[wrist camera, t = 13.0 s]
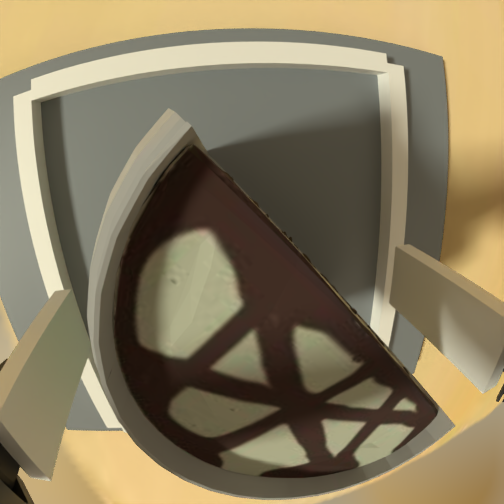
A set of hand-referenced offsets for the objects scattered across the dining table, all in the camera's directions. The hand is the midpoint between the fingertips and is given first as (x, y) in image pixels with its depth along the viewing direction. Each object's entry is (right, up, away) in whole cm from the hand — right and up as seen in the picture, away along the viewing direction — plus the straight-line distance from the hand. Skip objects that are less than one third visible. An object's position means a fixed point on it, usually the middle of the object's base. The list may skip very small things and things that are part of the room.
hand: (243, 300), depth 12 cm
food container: (-1, +1, +3) cm, 4 cm away
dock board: (-1, +1, +4) cm, 5 cm away
